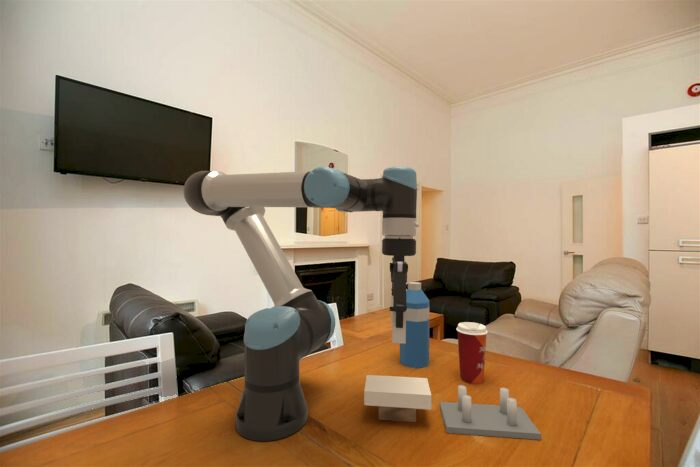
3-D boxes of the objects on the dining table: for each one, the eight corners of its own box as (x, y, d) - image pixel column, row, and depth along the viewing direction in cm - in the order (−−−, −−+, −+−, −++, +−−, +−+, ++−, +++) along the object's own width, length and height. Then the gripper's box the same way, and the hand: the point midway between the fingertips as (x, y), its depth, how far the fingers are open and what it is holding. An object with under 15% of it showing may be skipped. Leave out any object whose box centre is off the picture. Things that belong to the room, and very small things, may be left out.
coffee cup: (490, 387, 86) (490, 330, 86) (458, 384, 87) (458, 328, 87) (484, 373, 94) (484, 322, 94) (454, 371, 96) (454, 320, 96)
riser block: (378, 419, 71) (378, 401, 71) (379, 409, 75) (379, 392, 75) (415, 422, 70) (415, 403, 70) (414, 412, 74) (414, 394, 74)
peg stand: (447, 432, 66) (447, 402, 66) (439, 406, 76) (439, 380, 76) (541, 439, 64) (541, 408, 64) (520, 412, 74) (521, 384, 74)
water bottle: (432, 368, 98) (433, 285, 98) (401, 368, 98) (401, 285, 98) (426, 356, 107) (426, 280, 107) (397, 356, 107) (397, 280, 107)
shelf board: (364, 405, 69) (364, 391, 69) (367, 387, 77) (367, 374, 77) (431, 409, 68) (431, 395, 68) (427, 391, 75) (427, 378, 75)
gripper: (422, 239, 60) (420, 354, 60) (411, 236, 85) (410, 318, 85) (381, 238, 61) (379, 351, 61) (382, 236, 85) (381, 317, 86)
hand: (397, 332), depth 73 cm, fingers open, 13 cm apart
